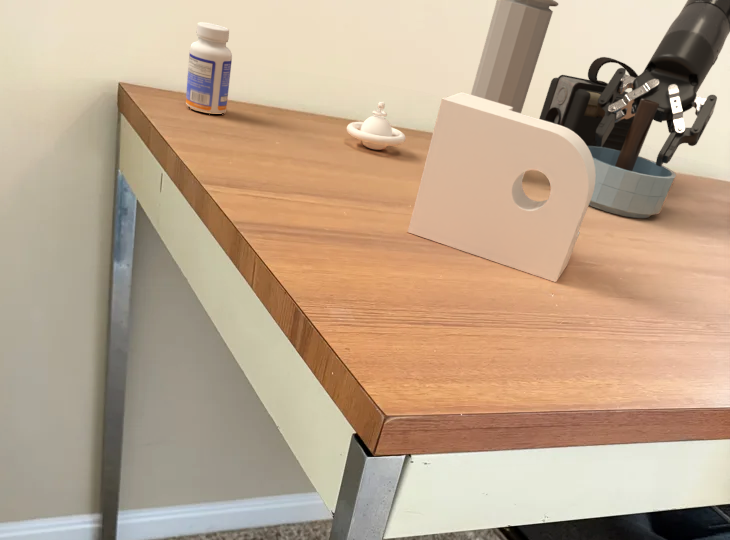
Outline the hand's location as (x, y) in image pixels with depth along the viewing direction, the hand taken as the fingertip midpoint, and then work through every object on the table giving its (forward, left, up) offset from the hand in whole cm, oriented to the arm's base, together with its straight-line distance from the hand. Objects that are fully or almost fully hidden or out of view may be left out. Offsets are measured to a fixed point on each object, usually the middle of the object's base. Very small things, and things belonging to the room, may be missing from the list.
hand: (628, 151), depth 108 cm
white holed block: (+32, +16, -7) cm, 36 cm away
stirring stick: (-1, -1, -6) cm, 6 cm away
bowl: (-1, -1, -7) cm, 7 cm away
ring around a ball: (+28, -18, -7) cm, 34 cm away
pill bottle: (+48, -29, -7) cm, 56 cm away
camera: (-8, -17, -7) cm, 20 cm away
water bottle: (+13, -14, -7) cm, 20 cm away
